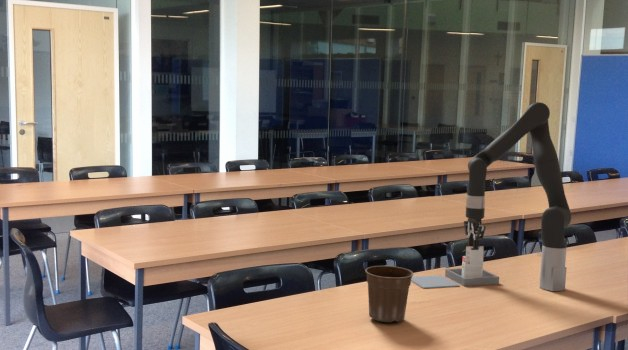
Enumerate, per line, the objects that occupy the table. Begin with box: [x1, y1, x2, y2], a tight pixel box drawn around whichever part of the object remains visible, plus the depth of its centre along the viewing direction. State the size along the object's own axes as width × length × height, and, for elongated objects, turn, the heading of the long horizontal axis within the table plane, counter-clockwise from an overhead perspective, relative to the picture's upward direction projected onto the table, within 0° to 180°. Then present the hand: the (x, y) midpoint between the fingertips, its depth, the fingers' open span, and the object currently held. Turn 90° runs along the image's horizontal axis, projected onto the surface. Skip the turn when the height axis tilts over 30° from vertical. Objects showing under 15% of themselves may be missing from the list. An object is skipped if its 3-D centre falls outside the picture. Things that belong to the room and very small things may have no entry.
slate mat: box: [411, 274, 460, 290], centre depth 289 cm, size 16×16×1 cm
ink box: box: [461, 245, 484, 278], centre depth 293 cm, size 4×8×15 cm, turn 97°
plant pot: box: [365, 265, 414, 323], centre depth 241 cm, size 16×16×16 cm
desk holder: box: [444, 267, 500, 287], centre depth 294 cm, size 16×16×3 cm
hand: (473, 247), depth 292 cm, fingers open, 3 cm apart
